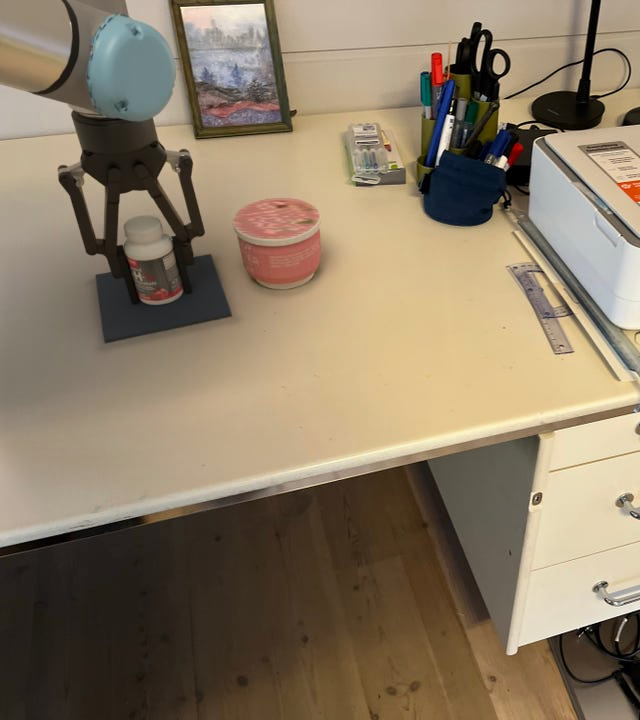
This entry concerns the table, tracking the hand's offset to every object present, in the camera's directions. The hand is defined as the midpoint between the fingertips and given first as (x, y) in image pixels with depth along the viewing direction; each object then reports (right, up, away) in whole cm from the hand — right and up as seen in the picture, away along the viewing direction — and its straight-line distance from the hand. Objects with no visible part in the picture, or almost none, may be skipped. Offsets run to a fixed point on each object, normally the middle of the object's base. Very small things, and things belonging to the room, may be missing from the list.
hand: (161, 291), depth 91 cm
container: (+14, +3, +6) cm, 15 cm away
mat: (0, -1, 0) cm, 1 cm away
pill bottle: (0, 0, 0) cm, 1 cm away
